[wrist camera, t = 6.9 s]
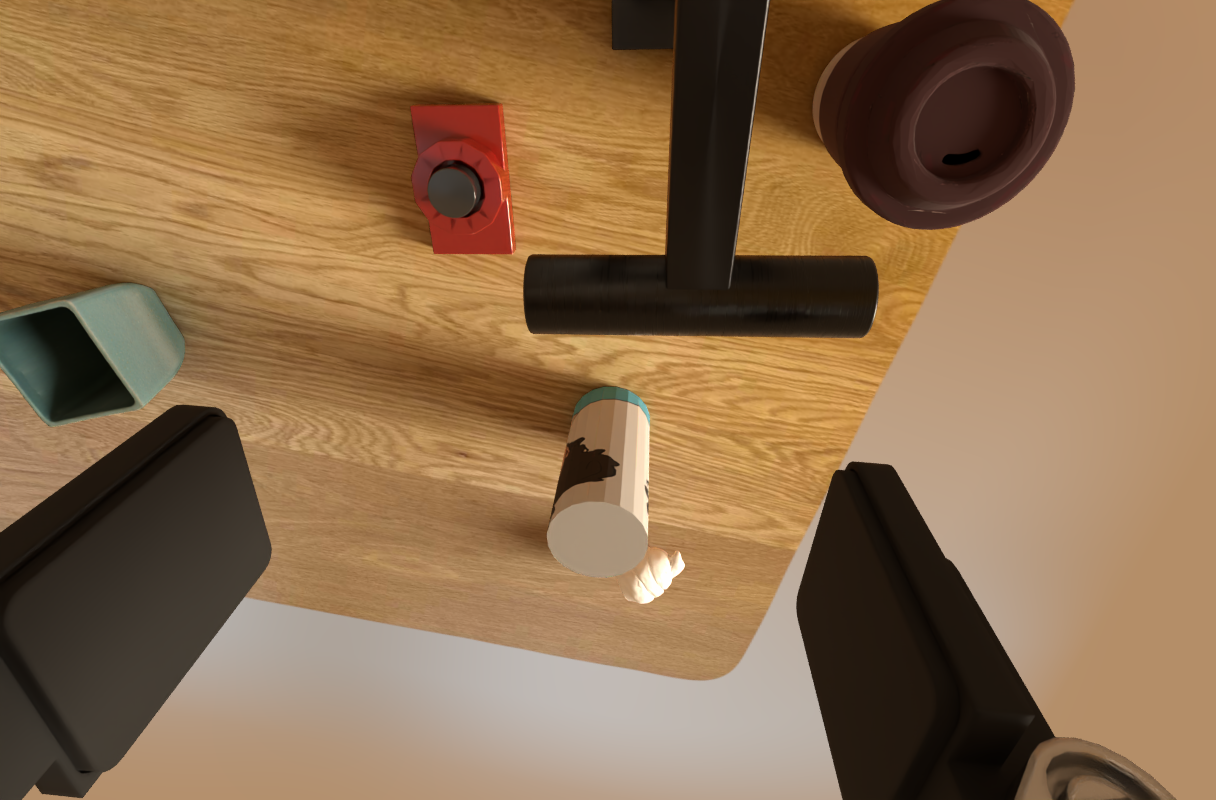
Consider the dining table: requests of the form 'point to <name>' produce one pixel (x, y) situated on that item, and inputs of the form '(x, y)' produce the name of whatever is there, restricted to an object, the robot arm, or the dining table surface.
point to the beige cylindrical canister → (603, 486)
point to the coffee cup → (947, 109)
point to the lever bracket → (642, 24)
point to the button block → (480, 147)
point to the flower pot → (90, 352)
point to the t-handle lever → (705, 221)
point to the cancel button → (454, 190)
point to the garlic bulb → (650, 575)
